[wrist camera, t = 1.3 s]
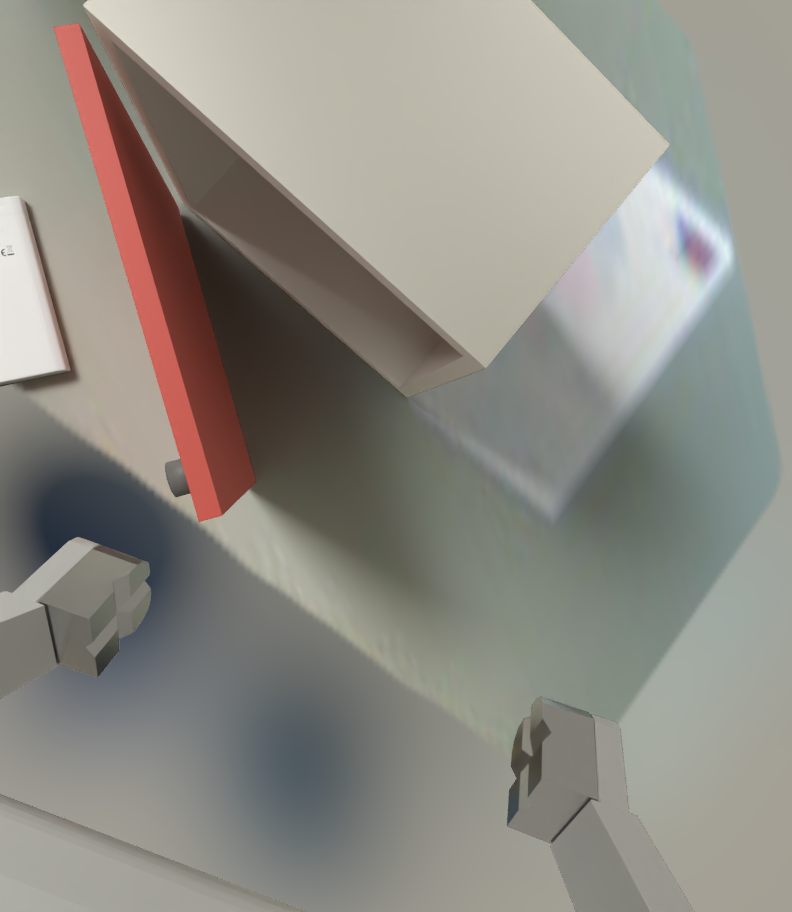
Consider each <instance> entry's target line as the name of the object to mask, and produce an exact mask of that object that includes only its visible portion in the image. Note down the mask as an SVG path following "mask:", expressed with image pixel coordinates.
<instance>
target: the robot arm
mask: <svg viewBox="0 0 792 912" xmlns="http://www.w3.org/2000/svg"><path fill="white" fill-rule="evenodd" d="M149 574H150V570H149V563H148V562H145V561H142V560H140V559H137V558H134V557H132V556H129V555H126V554H124V553H121V552H118V551H115V550H113V549H110V548H107V547H104V546H102V545H99V544H97V543H93V542H91V541H88V540H85V539H82V538H79V537H77V538H75V539H72V540H71V541H68V542H67V543H66V544H65V545H64V546H63V547H62V548H61V549H60V550H59V551H57V552H56V553H55V554H54V555H53V556H52V557H51V558H50V559H49V560H48V561H47V562H46V563H45V564H44V565H42V566H41V567H40V568H39V569H38V570H37V571H36V572H35V573H34V574H32V575H31V576H30V577H29V578H28V579H27V580H26V581H25V582H24V583H23V584H22V585H21V586H20V587H18V588H17V589H16V590H15V591H14V592H13V593H10V592H7V591H4V592H1V593H0V699H1V698H3V697H5V696H7V695H8V694H10V693H12V692H14V691H15V690H17V689H19V688H21V687H23V686H24V685H26V684H28V683H30V682H32V681H33V680H35V679H37V678H39V677H40V676H42V675H44V674H46V673H48V672H49V671H51V670H53V669H55V668H57V664H58V665H61V666H64V667H67V668H70V669H73V670H76V671H79V672H82V673H85V674H88V675H91V676H94V677H97V678H98V677H99V676H100V674H101V673H102V672H103V671H104V669H105V668H106V667H107V665H108V664H109V663H110V662H111V660H112V659H113V658H114V656H115V655H116V654H117V653H118V652H119V639H120V638H122V637H124V636H127V635H129V634H131V633H133V632H134V631H135V630H136V628H137V627H138V626H139V624H140V623H141V622H142V620H143V618H144V616H145V614H146V612H147V610H148V607H149V603H150V599H151V589H150V587H149V586H148V585H147V583H146V582H145V579H146V578H147V577H148V575H149ZM511 768H512V770H513V772H514V774H515V776H516V778H517V779H516V780H515V782H514V784H513V785H512V786H511V788H510V790H509V803H508V817H507V826H508V827H510V828H513V829H515V830H518V831H521V832H523V833H526V834H528V835H531V836H533V837H536V838H538V839H541V840H543V841H546V842H548V843H551V845H550V847H551V850H552V852H553V855H554V857H555V860H556V862H557V865H558V868H559V870H560V873H561V875H562V878H563V880H564V883H565V886H566V888H567V890H568V893H569V895H570V898H571V901H572V903H573V906H574V909H575V911H576V912H694V910H693V909H692V907H691V905H690V904H689V902H688V900H687V899H686V897H685V895H684V893H683V892H682V890H681V888H680V887H679V885H678V883H677V882H676V880H675V878H674V877H673V875H672V873H671V872H670V870H669V868H668V867H667V865H666V863H665V862H664V860H663V858H662V857H661V855H660V853H659V851H658V850H657V848H656V846H655V845H654V843H653V841H652V840H651V838H650V836H649V835H648V833H647V831H646V830H645V828H644V826H643V825H642V823H641V822H640V820H639V818H638V816H636V815H634V814H632V813H629V806H628V796H627V786H626V777H625V767H624V757H623V748H622V739H621V729H620V727H619V725H618V723H616V722H614V721H611V720H608V719H605V718H602V717H599V716H596V715H593V714H590V713H589V712H586V711H583V710H580V709H577V708H574V707H571V706H568V705H565V704H562V703H559V702H556V701H553V700H550V699H546V698H543V697H538V698H537V699H536V700H535V701H534V703H533V704H532V707H531V716H530V717H527V718H524V719H523V721H522V722H521V724H520V726H519V728H518V730H517V733H516V737H515V740H514V744H513V750H512V758H511ZM0 912H306V911H303V910H301V909H298V908H295V907H293V906H290V905H288V904H285V903H283V902H280V901H277V900H275V899H272V898H270V897H267V896H264V895H262V894H259V893H257V892H254V891H251V890H249V889H246V888H244V887H241V886H238V885H236V884H233V883H230V882H228V881H225V880H223V879H220V878H218V877H215V876H212V875H210V874H207V873H205V872H202V871H200V870H197V869H194V868H192V867H189V866H187V865H184V864H181V863H179V862H176V861H174V860H171V859H168V858H166V857H163V856H161V855H158V854H155V853H153V852H150V851H148V850H145V849H142V848H140V847H137V846H134V845H132V844H129V843H127V842H124V841H122V840H119V839H116V838H114V837H111V836H109V835H106V834H103V833H101V832H98V831H95V830H93V829H90V828H88V827H85V826H83V825H80V824H77V823H75V822H72V821H69V820H67V819H64V818H61V817H59V816H56V815H53V814H51V813H49V812H46V811H43V810H41V809H38V808H36V807H33V806H30V805H28V804H25V803H23V802H20V801H17V800H15V799H12V798H9V797H7V796H4V795H2V794H0Z"/></svg>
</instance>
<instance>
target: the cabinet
mask: <svg viewBox="0 0 792 912" xmlns="http://www.w3.org/2000/svg"><path fill="white" fill-rule="evenodd" d="M83 7H84V9H85V11H86V13H87V15H88V17H89V19H90V21H91V23H92V25H93V27H94V29H95V30H96V32H97V34H98V36H99V38H100V40H101V42H102V44H103V46H104V48H105V50H106V52H107V54H108V56H109V58H110V60H111V62H112V64H113V66H114V68H115V70H116V72H117V74H118V76H119V78H120V80H121V82H122V84H123V86H124V88H125V90H126V91H127V93H128V95H129V97H130V99H131V101H132V103H133V105H134V107H135V109H136V111H137V113H138V115H139V117H140V119H141V121H142V123H143V125H144V127H145V129H146V131H147V133H148V135H149V137H150V139H151V141H152V143H153V145H154V147H155V149H156V150H157V152H158V154H159V156H160V158H161V160H162V162H163V164H164V166H165V168H166V170H167V172H168V174H169V176H170V178H171V180H172V182H173V184H174V186H175V188H176V190H177V192H178V194H179V196H180V198H181V200H182V202H183V204H184V205H185V206H186V207H187V208H189V209H190V210H191V211H192V212H193V213H194V214H196V215H197V216H198V217H199V218H200V219H201V220H202V221H204V222H205V223H206V224H207V225H208V226H209V227H211V228H212V229H213V230H214V231H215V232H216V233H217V234H219V235H220V236H221V237H222V238H223V239H224V240H226V241H227V242H228V243H229V244H230V245H231V246H232V247H234V248H235V249H236V250H237V251H238V252H239V253H241V254H242V255H243V256H244V257H245V258H246V259H247V260H249V261H250V262H251V263H252V264H253V265H254V266H256V267H257V268H258V269H259V270H260V271H261V272H262V273H264V274H265V275H266V276H267V277H268V278H269V279H271V280H272V281H273V282H274V283H275V284H276V285H277V286H279V287H280V288H281V289H282V290H283V291H284V292H286V293H287V294H288V295H289V296H290V297H291V298H292V299H294V300H295V301H296V302H297V303H298V304H299V305H301V306H302V307H303V308H304V309H305V310H306V311H307V312H309V313H310V314H311V315H312V316H313V317H314V318H316V319H317V320H318V321H319V322H320V323H321V324H322V325H324V326H325V327H326V328H327V329H328V330H329V331H331V332H332V333H333V334H334V335H335V336H336V337H338V338H339V339H340V340H341V341H342V342H343V343H344V344H346V345H347V346H348V347H349V348H350V349H351V350H353V351H354V352H355V353H356V354H357V355H358V356H359V357H361V358H362V359H363V360H364V361H365V362H366V363H368V364H369V365H370V366H371V367H372V368H373V369H374V370H376V371H377V372H378V373H379V374H380V375H381V376H383V377H384V378H385V379H386V380H387V381H388V382H389V383H391V384H392V385H393V386H394V387H395V388H396V389H398V390H399V391H400V392H401V393H402V394H403V395H404V396H406V397H407V398H408V397H411V396H413V395H416V394H419V393H421V392H424V391H427V390H429V389H432V388H435V387H437V386H440V385H443V384H445V383H448V382H451V381H453V380H456V379H459V378H462V377H464V376H467V375H470V374H472V373H475V372H478V371H480V370H483V369H486V368H487V367H488V365H489V364H490V363H491V362H492V361H493V359H494V358H495V357H496V356H497V354H498V353H499V352H500V351H501V350H502V348H503V347H504V346H505V345H506V344H507V342H508V341H509V340H510V339H511V337H512V336H513V335H514V334H515V333H516V331H517V330H518V329H519V328H520V326H521V325H522V324H523V323H524V322H525V320H526V319H527V318H528V317H529V316H530V314H531V313H532V312H533V311H534V309H535V308H536V307H537V306H538V305H539V303H540V302H541V301H542V300H543V298H544V297H545V296H546V295H547V294H548V292H549V291H550V290H551V289H552V288H553V286H554V285H555V284H556V283H557V281H558V280H559V279H560V278H561V277H562V275H563V274H564V273H565V272H566V270H567V269H568V268H569V267H570V266H571V264H572V263H573V262H574V261H575V260H576V258H577V257H578V256H579V255H580V253H581V252H582V251H583V250H584V249H585V247H586V246H587V245H588V244H589V242H590V241H591V240H592V239H593V238H594V236H595V235H596V234H597V233H598V231H599V230H600V229H601V228H602V227H603V225H604V224H605V223H606V222H607V221H608V219H609V218H610V217H611V216H612V214H613V213H614V212H615V211H616V210H617V208H618V207H619V206H620V205H621V203H622V202H623V201H624V200H625V199H626V197H627V196H628V195H629V194H630V193H631V191H632V190H633V189H634V188H635V186H636V185H637V184H638V183H639V182H640V180H641V179H642V178H643V177H644V175H645V174H646V173H647V172H648V171H649V169H650V168H651V167H652V166H653V165H654V163H655V162H656V161H657V160H658V158H659V157H660V156H661V155H662V154H663V152H664V151H665V150H666V149H667V147H668V146H669V145H670V144H669V143H668V142H667V141H666V140H665V139H664V138H663V137H662V136H661V135H660V134H659V133H658V132H657V131H656V130H655V129H654V128H653V127H652V126H651V125H650V124H649V123H648V122H647V121H646V119H645V118H644V117H643V116H642V115H641V114H640V113H639V112H638V111H637V110H636V109H635V108H634V107H633V106H632V105H631V104H630V103H629V102H628V101H627V100H626V99H625V98H624V97H623V96H622V94H621V93H620V92H619V91H618V90H617V89H616V88H615V87H614V86H613V85H612V84H611V83H610V82H609V81H608V80H607V79H606V78H605V77H604V76H603V75H602V74H601V73H600V72H599V71H598V69H597V68H596V67H595V66H594V65H593V64H592V63H591V62H590V61H589V60H588V59H587V58H586V57H585V56H584V55H583V54H582V53H581V52H580V51H579V50H578V49H577V48H576V47H575V46H574V44H573V43H572V42H571V41H570V40H569V39H568V38H567V37H566V36H565V35H564V34H563V33H562V32H561V31H560V30H559V29H558V28H557V27H556V26H555V25H554V24H553V23H552V22H551V21H550V19H549V18H548V17H547V16H546V15H545V14H544V13H543V12H542V11H541V10H540V9H539V8H538V7H537V6H536V5H535V4H534V3H533V2H532V1H531V0H87V1H86V2H85V3H84V4H83Z"/></svg>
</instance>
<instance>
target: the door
mask: <svg viewBox="0 0 792 912" xmlns="http://www.w3.org/2000/svg"><path fill="white" fill-rule="evenodd" d="M54 30H55V34H56V37H57V40H58V44H59V47H60V51H61V54H62V57H63V61H64V64H65V68H66V71H67V74H68V78H69V81H70V85H71V88H72V91H73V95H74V98H75V102H76V105H77V108H78V112H79V115H80V119H81V122H82V125H83V129H84V132H85V136H86V139H87V142H88V146H89V149H90V153H91V156H92V159H93V163H94V166H95V170H96V173H97V176H98V180H99V183H100V187H101V190H102V193H103V197H104V200H105V204H106V207H107V210H108V214H109V217H110V221H111V224H112V227H113V231H114V234H115V238H116V241H117V244H118V248H119V251H120V255H121V258H122V261H123V265H124V268H125V272H126V275H127V278H128V282H129V285H130V289H131V292H132V295H133V299H134V302H135V306H136V309H137V312H138V316H139V319H140V323H141V326H142V329H143V333H144V336H145V340H146V343H147V346H148V350H149V353H150V357H151V360H152V363H153V367H154V370H155V374H156V377H157V381H158V384H159V387H160V391H161V394H162V398H163V401H164V404H165V408H166V411H167V415H168V418H169V421H170V425H171V428H172V432H173V435H174V438H175V442H176V445H177V449H178V452H179V455H180V459H178V460H175V461H171V462H167V463H166V464H165V472H166V477H167V481H168V484H169V487H170V489H171V491H172V493H173V495H174V496H175V497H179V496H182V495H186V494H190V493H191V496H192V500H193V503H194V506H195V510H196V513H197V517H198V520H199V522H201V521H204V520H208V519H211V518H215V517H219V516H222V515H223V514H224V513H225V512H226V511H227V510H228V509H229V508H230V507H231V506H232V505H233V504H234V503H235V502H236V501H237V500H238V499H239V498H240V497H241V496H242V495H244V494H245V493H246V492H247V491H248V490H249V489H250V488H251V487H252V486H253V485H254V484H255V483H256V479H255V475H254V472H253V468H252V465H251V461H250V458H249V454H248V451H247V447H246V444H245V440H244V437H243V433H242V430H241V426H240V423H239V419H238V416H237V412H236V409H235V405H234V402H233V398H232V395H231V391H230V387H229V384H228V380H227V377H226V373H225V370H224V366H223V363H222V359H221V356H220V352H219V349H218V345H217V342H216V338H215V335H214V331H213V328H212V324H211V321H210V317H209V314H208V310H207V307H206V303H205V300H204V296H203V293H202V289H201V286H200V282H199V279H198V275H197V272H196V268H195V265H194V261H193V258H192V254H191V251H190V247H189V244H188V240H187V236H186V233H185V229H184V226H183V222H182V219H181V215H180V212H179V208H178V206H177V204H176V202H175V200H174V198H173V197H172V195H171V193H170V191H169V189H168V187H167V185H166V184H165V182H164V180H163V178H162V176H161V174H160V172H159V171H158V169H157V167H156V165H155V163H154V161H153V159H152V158H151V156H150V154H149V152H148V150H147V148H146V146H145V145H144V143H143V141H142V139H141V137H140V135H139V133H138V132H137V130H136V128H135V126H134V124H133V122H132V120H131V119H130V117H129V115H128V113H127V111H126V109H125V107H124V106H123V104H122V102H121V100H120V98H119V96H118V94H117V93H116V91H115V89H114V87H113V85H112V83H111V81H110V80H109V78H108V76H107V74H106V72H105V70H104V68H103V67H102V65H101V63H100V61H99V59H98V57H97V56H96V54H95V52H94V50H93V48H92V46H91V44H90V43H89V41H88V39H87V37H86V35H85V33H84V31H83V30H82V28H81V26H80V24H79V23H77V24H70V25H64V26H57V27H54Z"/></svg>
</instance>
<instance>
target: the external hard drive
mask: <svg viewBox="0 0 792 912" xmlns="http://www.w3.org/2000/svg"><path fill="white" fill-rule="evenodd" d="M69 371H71V369H70V365H69V362H68V358H67V354H66V350H65V346H64V343H63V340H62V336H61V332H60V329H59V325H58V321H57V318H56V314H55V310H54V307H53V303H52V299H51V296H50V292H49V288H48V285H47V281H46V277H45V274H44V270H43V266H42V263H41V259H40V255H39V252H38V248H37V244H36V241H35V237H34V233H33V230H32V226H31V222H30V219H29V215H28V211H27V208H26V204H25V201H24V200H23V199H22V198H21V197H19V196H10V197H4V198H0V387H1V386H5V385H10V384H13V383H15V382H20V381H25V380H30V379H35V378H40V377H44V376H49V375H54V374H59V373H64V372H69Z"/></svg>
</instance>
